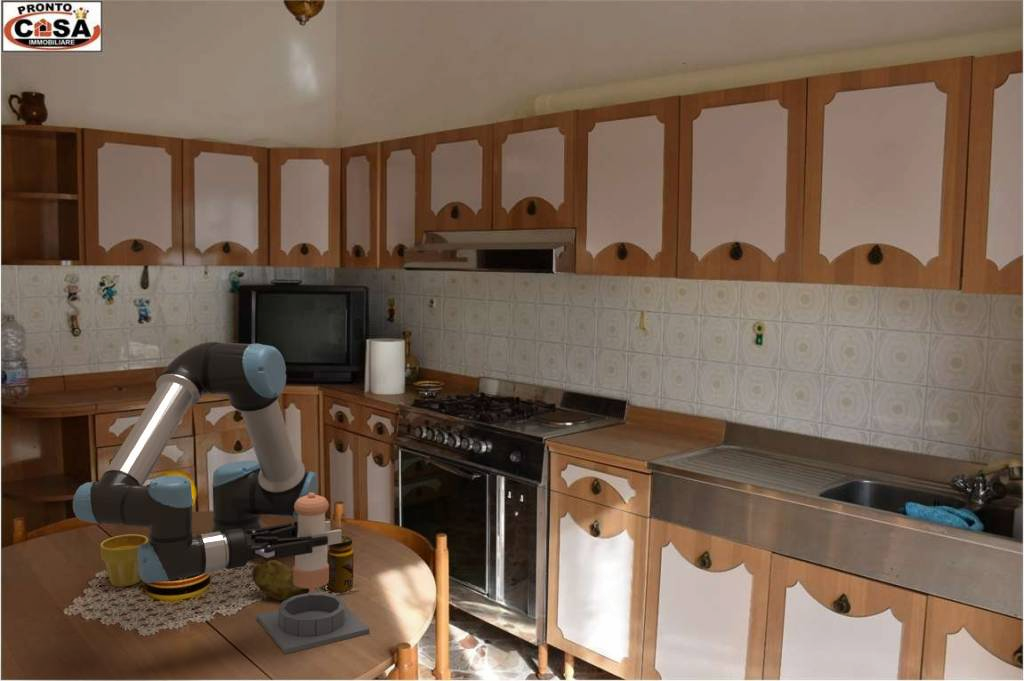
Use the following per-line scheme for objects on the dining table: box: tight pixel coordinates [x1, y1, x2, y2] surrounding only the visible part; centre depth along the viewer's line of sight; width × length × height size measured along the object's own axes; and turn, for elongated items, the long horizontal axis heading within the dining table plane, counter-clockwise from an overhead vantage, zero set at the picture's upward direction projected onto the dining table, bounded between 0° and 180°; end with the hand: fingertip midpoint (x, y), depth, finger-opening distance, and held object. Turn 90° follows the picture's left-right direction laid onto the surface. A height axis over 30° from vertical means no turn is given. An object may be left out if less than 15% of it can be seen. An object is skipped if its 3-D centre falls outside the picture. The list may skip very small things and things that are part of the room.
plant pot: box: [99, 533, 150, 588], centre depth 200 cm, size 10×10×10 cm
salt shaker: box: [292, 493, 330, 589], centre depth 178 cm, size 7×7×19 cm
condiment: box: [315, 535, 355, 596], centre depth 199 cm, size 7×8×12 cm
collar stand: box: [256, 592, 370, 655], centre depth 180 cm, size 18×18×4 cm
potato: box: [251, 559, 310, 602], centre depth 194 cm, size 8×13×8 cm, turn 60°
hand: (334, 531), depth 181 cm, fingers closed on salt shaker, 5 cm apart
